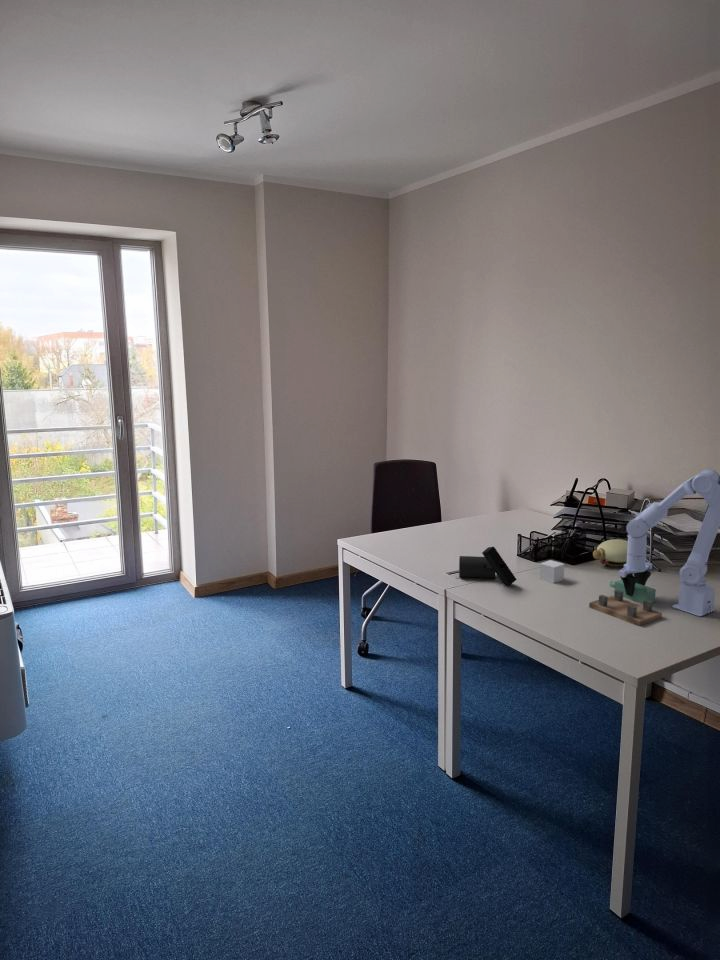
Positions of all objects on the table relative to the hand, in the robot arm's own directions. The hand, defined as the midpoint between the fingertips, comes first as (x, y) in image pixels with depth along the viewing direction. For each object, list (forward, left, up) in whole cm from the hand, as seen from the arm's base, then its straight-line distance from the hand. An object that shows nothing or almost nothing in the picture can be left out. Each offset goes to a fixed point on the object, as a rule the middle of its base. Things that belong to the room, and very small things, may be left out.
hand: (634, 593), depth 215 cm
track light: (+41, +28, -2) cm, 50 cm away
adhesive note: (+28, +8, -2) cm, 29 cm away
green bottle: (+1, 0, -2) cm, 2 cm away
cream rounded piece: (+26, -24, -2) cm, 35 cm away
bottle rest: (-6, +13, -1) cm, 14 cm away
